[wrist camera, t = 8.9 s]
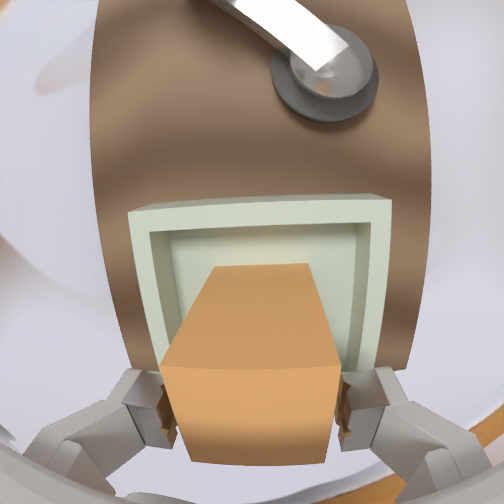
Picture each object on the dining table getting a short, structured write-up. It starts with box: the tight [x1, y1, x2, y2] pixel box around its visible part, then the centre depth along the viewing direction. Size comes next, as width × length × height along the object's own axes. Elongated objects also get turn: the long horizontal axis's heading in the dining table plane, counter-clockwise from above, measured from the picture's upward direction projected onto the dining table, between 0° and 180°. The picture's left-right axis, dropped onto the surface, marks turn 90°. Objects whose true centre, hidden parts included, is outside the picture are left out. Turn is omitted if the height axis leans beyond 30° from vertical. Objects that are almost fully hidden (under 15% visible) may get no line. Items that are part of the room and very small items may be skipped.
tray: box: [128, 193, 392, 391], centre depth 12 cm, size 10×10×2 cm
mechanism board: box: [90, 0, 431, 372], centre depth 12 cm, size 22×16×2 cm
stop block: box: [159, 263, 341, 466], centre depth 10 cm, size 4×4×7 cm
